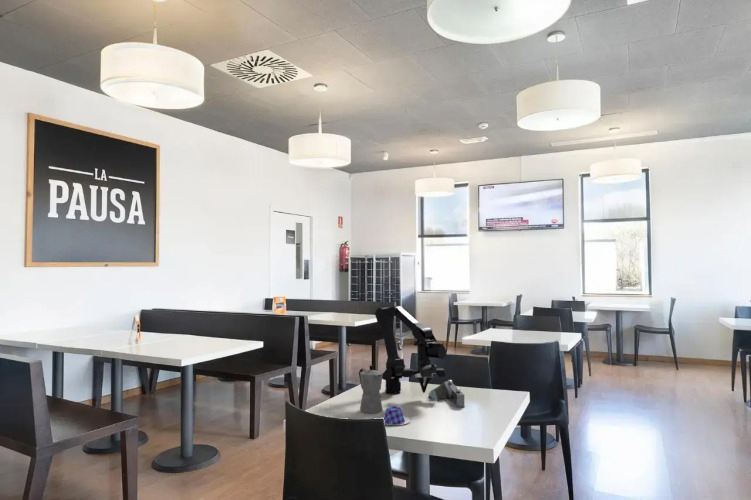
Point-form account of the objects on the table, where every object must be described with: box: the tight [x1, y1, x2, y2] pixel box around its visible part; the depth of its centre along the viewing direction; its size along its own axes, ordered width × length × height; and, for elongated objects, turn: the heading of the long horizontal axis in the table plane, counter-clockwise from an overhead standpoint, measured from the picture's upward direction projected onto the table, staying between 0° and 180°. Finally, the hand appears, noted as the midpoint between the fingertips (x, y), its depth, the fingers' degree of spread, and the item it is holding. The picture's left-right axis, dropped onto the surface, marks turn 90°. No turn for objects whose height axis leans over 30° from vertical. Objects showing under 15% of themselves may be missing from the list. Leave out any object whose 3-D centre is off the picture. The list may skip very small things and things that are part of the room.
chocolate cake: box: [428, 381, 451, 401], centre depth 222 cm, size 10×7×12 cm
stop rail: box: [444, 379, 465, 408], centre depth 219 cm, size 3×26×7 cm, turn 3°
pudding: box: [380, 405, 411, 426], centre depth 186 cm, size 12×12×5 cm
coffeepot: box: [358, 364, 384, 415], centre depth 202 cm, size 15×9×18 cm, turn 33°
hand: (423, 392), depth 219 cm, fingers closed
